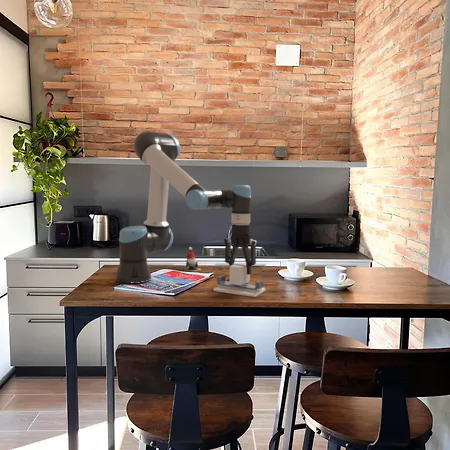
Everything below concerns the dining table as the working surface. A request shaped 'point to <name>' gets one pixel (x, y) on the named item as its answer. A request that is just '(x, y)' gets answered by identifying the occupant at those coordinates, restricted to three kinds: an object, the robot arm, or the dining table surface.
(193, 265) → the figurine
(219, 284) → the rail
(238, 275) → the block
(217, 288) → the mount plate
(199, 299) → the dining table surface
